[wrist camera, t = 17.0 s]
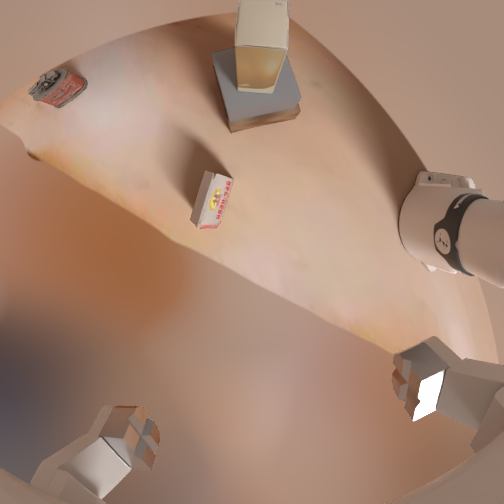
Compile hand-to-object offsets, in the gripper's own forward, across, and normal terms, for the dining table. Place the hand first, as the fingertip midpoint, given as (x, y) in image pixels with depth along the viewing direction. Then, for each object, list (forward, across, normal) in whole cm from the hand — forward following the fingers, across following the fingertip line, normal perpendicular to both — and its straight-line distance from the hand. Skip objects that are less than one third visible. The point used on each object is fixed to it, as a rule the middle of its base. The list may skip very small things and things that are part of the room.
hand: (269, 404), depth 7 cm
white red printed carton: (+35, +4, -6) cm, 36 cm away
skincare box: (+26, -6, -20) cm, 33 cm away
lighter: (+35, +26, -34) cm, 55 cm away
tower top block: (+30, -5, -20) cm, 37 cm away
